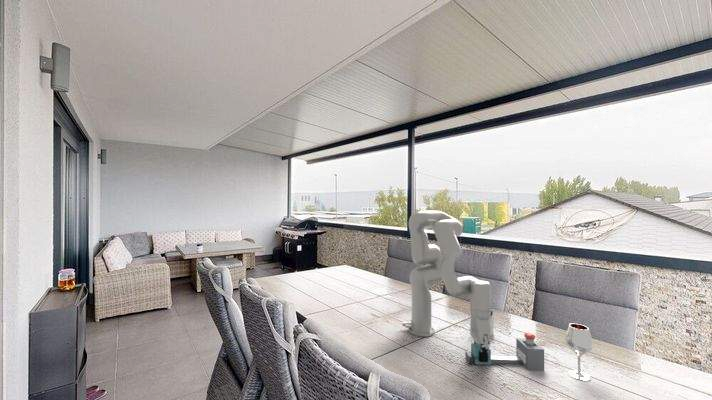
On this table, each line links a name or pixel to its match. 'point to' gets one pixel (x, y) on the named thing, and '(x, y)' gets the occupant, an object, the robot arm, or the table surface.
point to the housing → (530, 354)
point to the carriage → (475, 352)
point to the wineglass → (579, 346)
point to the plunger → (529, 339)
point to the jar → (491, 324)
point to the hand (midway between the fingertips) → (480, 357)
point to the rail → (497, 360)
